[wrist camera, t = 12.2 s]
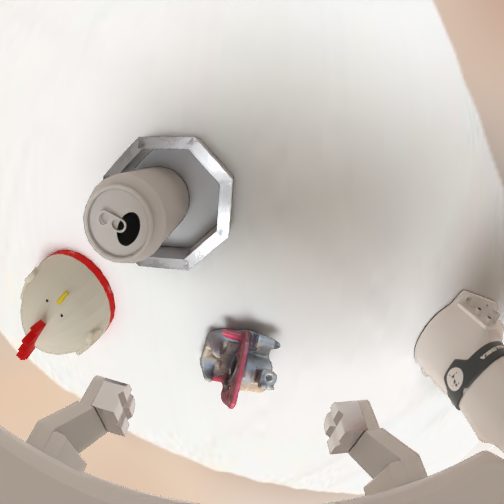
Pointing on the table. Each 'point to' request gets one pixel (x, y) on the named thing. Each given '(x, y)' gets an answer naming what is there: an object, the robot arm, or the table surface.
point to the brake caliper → (238, 362)
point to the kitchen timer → (64, 305)
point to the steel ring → (220, 232)
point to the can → (135, 213)
